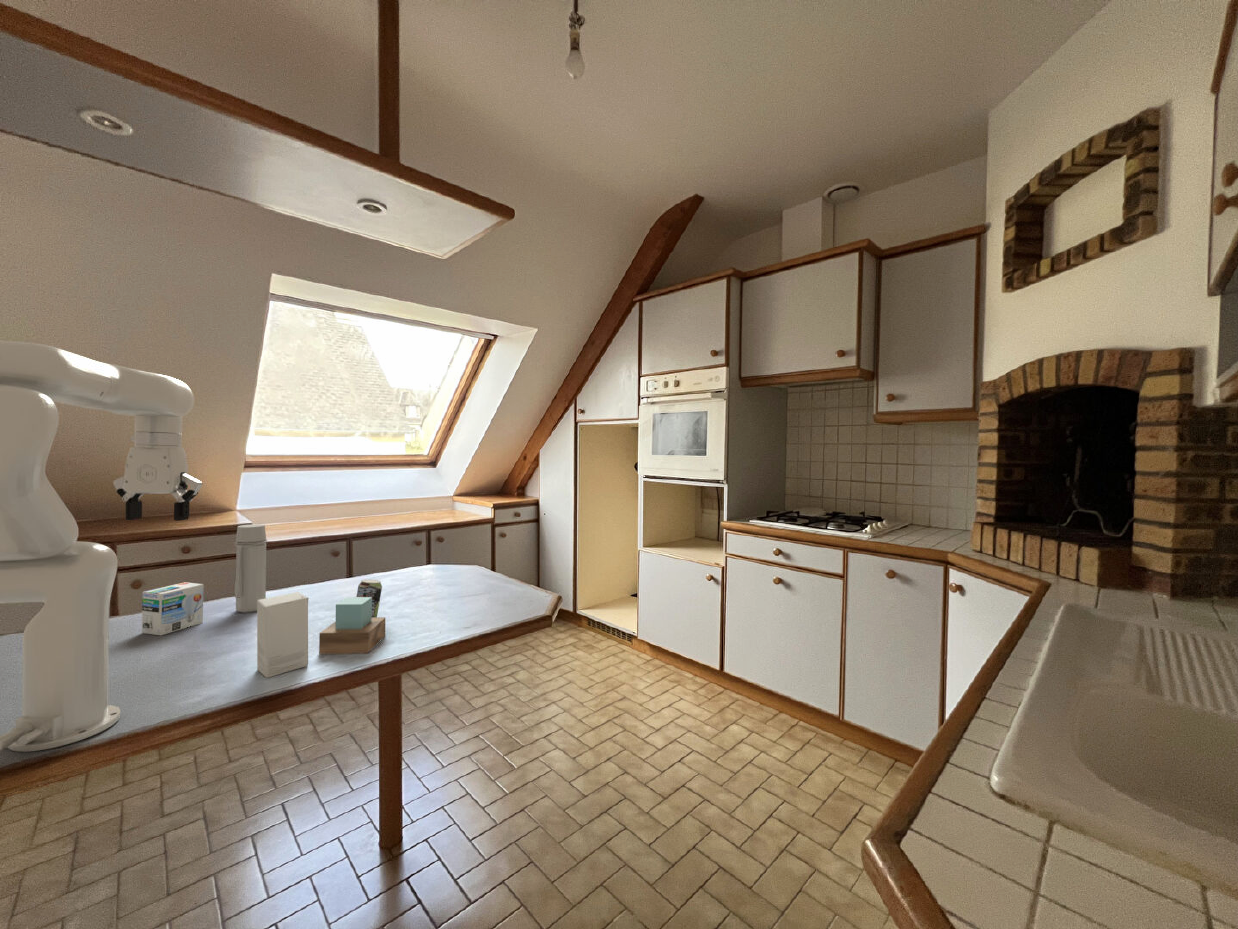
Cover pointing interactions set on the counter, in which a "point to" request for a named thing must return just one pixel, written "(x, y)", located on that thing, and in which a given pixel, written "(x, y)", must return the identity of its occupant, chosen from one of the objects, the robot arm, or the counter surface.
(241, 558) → the water bottle
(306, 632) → the skincare box
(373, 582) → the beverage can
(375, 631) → the walnut block
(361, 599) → the teal cube
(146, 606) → the light bulb box
